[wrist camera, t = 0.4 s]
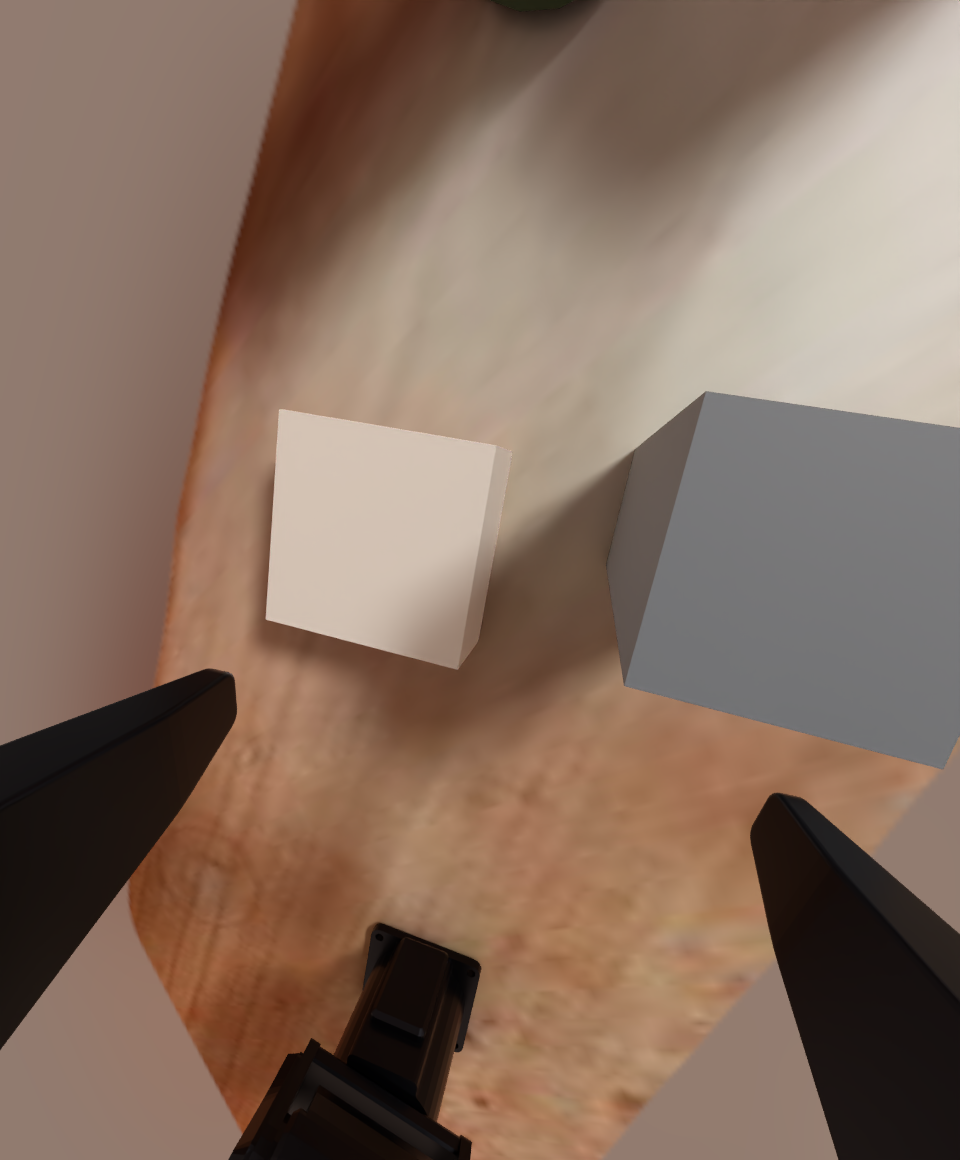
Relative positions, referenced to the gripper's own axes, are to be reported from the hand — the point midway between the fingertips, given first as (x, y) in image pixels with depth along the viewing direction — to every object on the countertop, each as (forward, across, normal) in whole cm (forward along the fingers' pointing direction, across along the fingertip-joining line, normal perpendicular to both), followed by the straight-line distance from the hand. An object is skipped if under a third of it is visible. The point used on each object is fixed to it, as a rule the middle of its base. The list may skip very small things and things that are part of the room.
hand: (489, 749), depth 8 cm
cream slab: (+15, +6, +2) cm, 16 cm away
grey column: (+14, -6, -1) cm, 15 cm away
